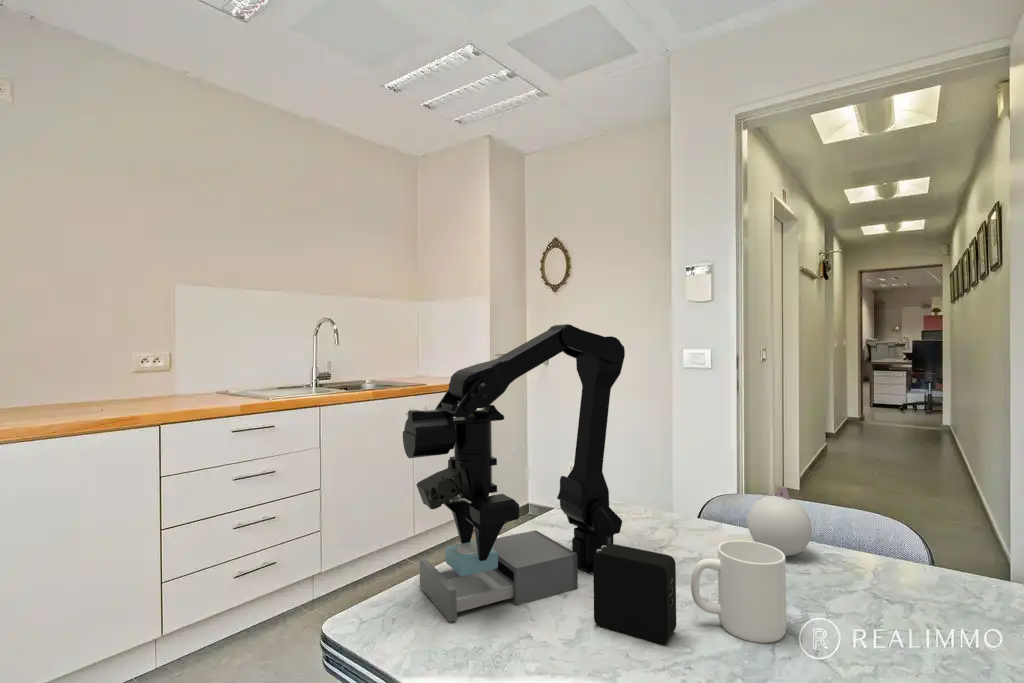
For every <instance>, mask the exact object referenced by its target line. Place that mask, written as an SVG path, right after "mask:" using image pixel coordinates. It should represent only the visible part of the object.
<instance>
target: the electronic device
mask: <svg viewBox="0 0 1024 683" xmlns="http://www.w3.org/2000/svg"><path fill="white" fill-rule="evenodd" d="M676 566H677V565H676V559H675V558H674V557H673V556H671V555H669V554H665V553H659V552H655V551H649V550H647V549H646V550H645V549H640V548H635V547H630V546H625V545H620V544H616V543H613V544H607V545H606V546H604V545H603V546H601V550H600V549H598V550H597V553H596V554H595V555H594V558H593V573H592V575H593V619H594V620H593V621H594V623H595V625H596V626H597V627H599V628H601V629H604V630H608V631H611V632H616V633H618V634H622V635H626V636H629V637H633V638H636V639H639V640H643V641H645V642H650V643H653V644H656V645H659V646H665V645H666V644H667V643H668V642H669V640H670V639H671V637H672V635H673V633H674V631H675V630H676V628H677V575H676V574H677V571H676V569H677V568H676Z"/></svg>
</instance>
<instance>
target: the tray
mask: <svg viewBox="0 0 1024 683" xmlns="http://www.w3.org/2000/svg"><path fill="white" fill-rule="evenodd" d="M419 587H420V588H421V590H422V592H424V593H425V594H426V596H428V598H429V599H430V600H431V601H432V603H433V604H434V605H435V606H436V607H437V608H438V610H439V611H440V612H441V613H442V614H443V615H444V617H445V618H446V619H447V620H448V621H449V622H454V621H457V620H458V618H457V613H460V612H464V611H467V610H471V609H475V608H479V607H482V606H487V605H490V604H493V603H498V602H501V601H506V600H509V598H513V597H514V582H513V581H512V580H510V579H509V578H508V577H506V576H505V575H504V574H503V573H501V572H500V571H499V570H498V569H492V570H488V571H483V572H479V573H475V574H470V575H466V576H460V575H459V574H458V573H457V572H456V571H455V570H453V569H452V568H449V569H444V570H441V571H439V570H438V568H436V567H435V566H434V565H433V564H432V563H431V562H430V561H429V560H428V559H427V558H420V559H419Z"/></svg>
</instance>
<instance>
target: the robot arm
mask: <svg viewBox="0 0 1024 683" xmlns="http://www.w3.org/2000/svg"><path fill="white" fill-rule="evenodd" d="M561 353H564V354H565V355H566V356H568V357H571V358H573V359H576V360H575V361H576V363H575V364H576V365H575V366H576V372H577V374H578V377H579V379H580V383H581V397H580V398H581V399H580V407H579V414H578V425H577V434H576V442H575V443H576V444H575V454H574V463H573V468H572V469H571V471H570V472H569V474H568V476H566V475H560V478H559V491H558V494H557V497H556V499H557V500H559V508H560V509H561V510H562V512H563V514H565V515H566V518H567V521H568V524H570V525H573V526H575V527H574V528H573V537H572V540H571V549H572V550H571V551H573V552H575V553H577V568H578V567H579V568H580V569H581V570H583V571H584V572H585V571H586V572H587V573H589V574H593V558H594V555H595V554H596V553H597V550H598V549H600V550H601V546H603V545H604V546H606V545H607V544H614V535H616V534H617V535H618V534H620V532H621V528H622V524H623V520H622V519H621V517H620V516H618V514H617V513H616V512H615V511H614V510H613V509H612V508H611V507H610V491H609V487H608V484H607V481H606V478H605V476H604V471H603V467H604V458H605V457H604V456H605V447H606V438H607V437H606V436H607V430H608V420H609V418H608V417H609V409H610V401H611V400H610V399H611V398H610V397H611V390H612V389H613V388H612V387H613V386H614V384H615V383H616V382H617V380H618V378H619V377H620V375H621V372H622V369H623V365H624V361H625V356H626V354H625V353H626V349H625V346H624V345H623V344H622V342H621V340H619V339H618V338H617V337H615V336H612V335H611V336H603V335H601V334H597V333H594V332H590V331H588V330H584V329H580V328H579V327H576V326H574V325H572V324H570V323H569V324H568V323H567V324H555V325H552V326H550V327H549V328H548V329H546V331H544V332H542V333H540V334H539V335H537V336H535V337H533V338H532V339H530V340H528V341H526V342H524V343H522V344H520V345H519V346H518V347H516V348H513V349H512V350H510V351H508V352H506V353H504V354H503V355H501V356H499V357H498V358H495V359H492V360H491V359H490V360H489V361H485V362H479V363H476V364H473V365H469V366H467V367H464V368H461V369H459V370H456V371H455V372H454V373H453V374H452V375H451V376H450V381H449V383H448V389H447V391H446V392H445V394H444V395H443V397H442V398H441V399H440V401H439V403H438V404H437V405H436V407H435V409H431V410H430V409H429V410H419V409H410V410H408V411H407V419H406V421H405V424H404V430H403V431H402V442H403V443H402V445H403V449H404V453H405V455H406V457H407V458H408V459H415V458H425V457H426V458H427V457H432V456H433V457H435V456H441V455H448V454H449V453H450V451H451V450H454V454H453V455H454V456H450V457H449V459H448V460H447V467H446V468H444V469H443V470H439V471H437V472H435V473H433V474H431V475H430V476H428V477H426V478H424V479H422V480H420V481H418V482H417V483H416V487H417V490H418V494H419V495H420V496H419V497H420V498H421V501H422V504H423V505H425V506H427V507H428V508H429V509H430V510H436V509H438V508H440V507H442V506H443V505H444V506H445V507H446V508H447V509H448V510H450V511H451V513H452V517H453V520H454V522H455V527H456V530H457V535H458V537H459V542H460V544H461V543H467V542H472V537H473V532H474V533H475V541H476V543H477V551H478V557H479V560H480V561H485V560H487V558H488V556H489V554H490V551H491V549H492V547H493V545H494V543H495V541H496V538H498V537H499V535H500V532H501V531H502V530H503V527H504V525H505V523H507V522H510V521H516V520H519V519H520V504H519V503H518V502H517V501H516V500H515V499H514V498H512V497H509V496H508V495H506V494H504V493H500V494H498V485H497V484H495V483H493V467H492V466H498V458H497V457H494V456H492V453H493V452H492V443H493V442H492V422H496V421H498V422H499V421H503V420H505V416H504V414H502V412H500V411H499V410H498V409H497V408H496V406H495V405H493V402H495V401H496V400H497V399H498V398H500V397H501V396H502V395H504V393H505V392H506V390H507V389H508V388H509V386H510V385H511V384H512V383H513V382H514V381H515V380H517V379H518V378H520V377H522V376H523V375H525V374H527V373H528V372H530V371H532V370H533V369H535V368H537V367H539V366H540V365H541V364H542V365H543V364H544V363H545V362H547V361H549V360H551V359H553V358H554V357H555V356H557V355H559V354H561ZM494 493H497V494H494ZM490 494H492V495H490Z"/></svg>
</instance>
